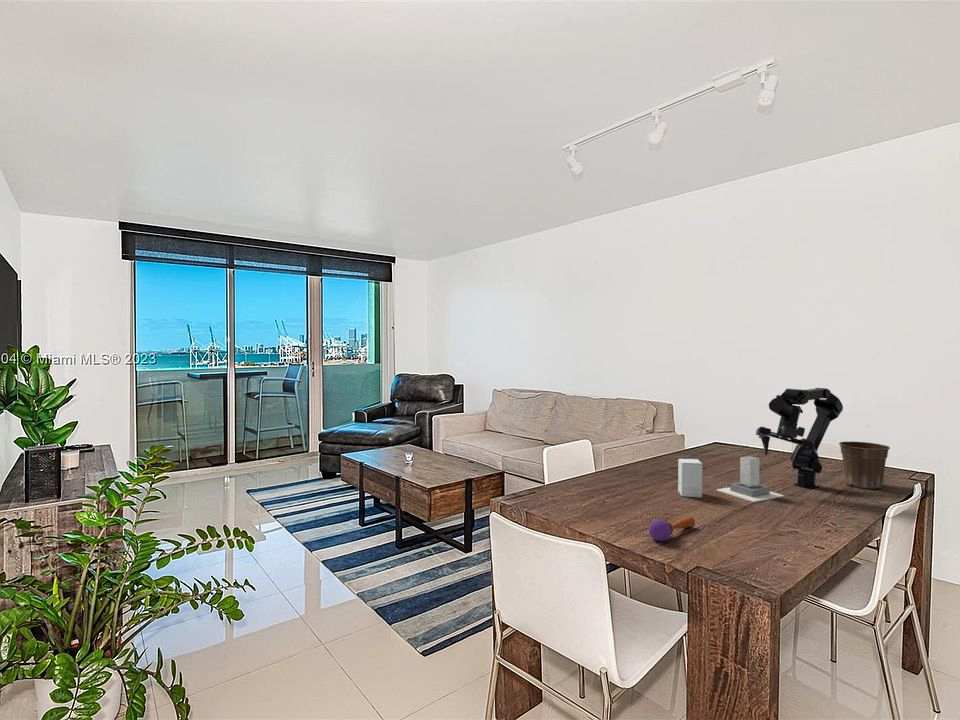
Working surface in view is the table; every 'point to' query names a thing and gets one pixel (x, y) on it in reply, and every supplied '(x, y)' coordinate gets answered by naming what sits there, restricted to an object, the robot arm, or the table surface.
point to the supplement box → (690, 477)
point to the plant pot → (864, 464)
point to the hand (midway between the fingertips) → (778, 459)
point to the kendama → (668, 528)
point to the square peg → (749, 472)
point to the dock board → (750, 492)
